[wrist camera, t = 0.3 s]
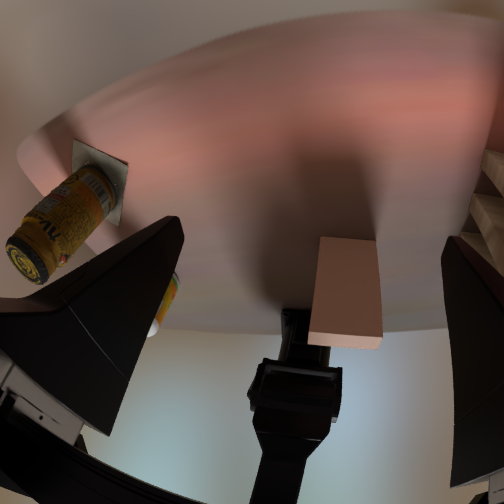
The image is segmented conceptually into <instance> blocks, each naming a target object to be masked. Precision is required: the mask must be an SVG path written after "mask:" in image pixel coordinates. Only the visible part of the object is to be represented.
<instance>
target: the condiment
mask: <svg viewBox="0 0 504 504" xmlns="http://www.w3.org/2000/svg"><path fill="white" fill-rule="evenodd" d="M87 161H89V162H88V163H87ZM85 163H87V164H85ZM127 171H128V166H126V165H124V164H122V163H121V162H120V161H118V160H116V159H114V158H112V157H110V156H108V155H106V154H104V153H102V152H100V151H98V150H97V149H95V148H91V147H89V146H87V145H85V144H83V143H80V142H78V141H76V140H73V153H72V175H71V176H70V177H68V178H67V179H66V180H65V181H63V182H62V183H61V184H60V185H59V186H58V187H56V188H55V189H54V190H52V191H51V193H50V194H48V195H47V196H46V197H44V199H43V200H42V201H41V202H39V203H38V204H37V205H36V206H35V207H34V208H33V209H32V210H31V211H30V212H28V213H27V214H26V216H25V217H24V219H23V220H22V223H21V227H19V228H18V229H17V230H16V231H15V233H14V234H13V235H12V237H10V238H9V239H8V240H7V243H6V252H7V254H8V256H9V259H10V260H11V262H12V264H13V265H14V266H15V268H16V269H17V270H18V271H19V272H20V273H21V274H22V275H23V276H24V277H25V278H26V279H27V280H29V281H31V282H32V283H34V284H37V285H43V284H44V283H45V282H47V280H48V279H49V277H50V276H51V275H52V274H53V273H54V272H55V270H56V268H59V267H62V266H63V265H65V264H66V263H67V262H68V260H69V259H70V258H71V256H72V255H73V254H74V253H75V251H76V250H77V249H78V248H79V247H80V246H81V245H82V243H83V242H84V241H85V240H86V239H87V238H88V236H89V235H90V234H91V233H92V232H93V231H94V230H95V229H96V228H97V226H98V225H99V224H100V223H101V222H102V221H103V220H104V219H106V220H107V221H109V222H111V223H113V224H114V225H116V226H118V227H119V222H120V216H121V210H122V203H123V193H124V189H125V184H126V175H127ZM115 184H116V185H115Z"/></svg>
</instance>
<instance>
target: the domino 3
mask: <svg viewBox="0 0 504 504" xmlns="http://www.w3.org/2000/svg"><path fill="white" fill-rule="evenodd" d="M459 237H461V238H462V239H464V240H465V241H466V242H467V243H468V244H469V245H470V246H471V247H473V248H474V249H475V250H476V251H477V252H478V253H479V254H480V255H481V256H482V257H483V258H484V259H486V260H487V261H488V262H489V263H490V264H491V265H492V266H493V267H494V268H495V269H496V270H497V271H498V269H497V266H496V264H495V262H494V259H493V257H492V255H491V253H490V250H489V248H488V246H487V244H486V242H485V240H484V238H483V236H482V234H478V233H470V232H462V231H461V233H460V236H459ZM498 272H499V271H498Z"/></svg>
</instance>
